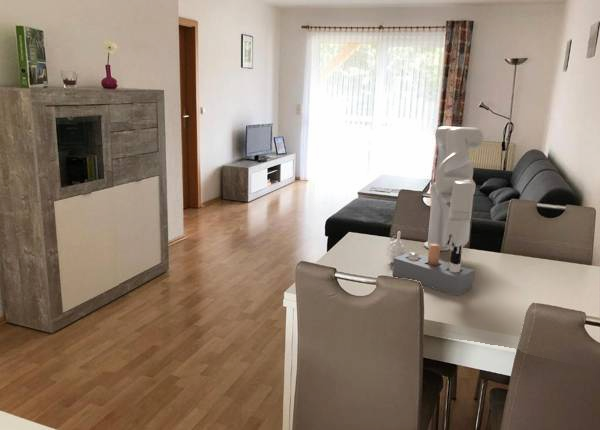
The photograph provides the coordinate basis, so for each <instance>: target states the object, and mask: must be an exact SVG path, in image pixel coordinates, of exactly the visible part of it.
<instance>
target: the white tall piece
mask: <svg viewBox="0 0 600 430" xmlns="http://www.w3.org/2000/svg"><path fill="white" fill-rule="evenodd" d="M401 234H402V233H401V231H400V230H398V232H397V234H396V235H397V236H396V235H394V236H392V238H391V239H393V238H395V237H396V239H395V240H391V242H389V243H388V247H387V254H386V256H387V257H388V255H389V256H390V257H389V258H390V261H392V263H393V264H394V258H395V257H398V256H401V255H404V254H406V250H405V245H403V242H402V241H401ZM393 243H394V244H393ZM390 244H391V247H390ZM389 248H390V249H389ZM389 251H390V252H389Z"/></svg>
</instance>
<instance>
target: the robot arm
mask: <svg viewBox="0 0 600 430" xmlns="http://www.w3.org/2000/svg"><path fill="white" fill-rule="evenodd" d="M434 135H435V141H436V142H435V143H436V145H437V149H438V152H437V153H438V154H437V161H436V168H435V169H436V170H435V178H434V179H435V180H434V181H435V182H433V183H431V186H430V190H429V191H430V192H429V193H430V215H429V223H428V224H429V225H428V236H427V241H426V242H424V243H423V246H424V247H425V248H427V249H428V250H429V245H430V244H438V245H440V252H441V251H442V252H444V251H445V252H446V251H450V261H449V262H451V263H454V264H460V263H461V260H462V253H463V249H464V247H465V246H466V245H467V243H469V241H470V231H471V230H470V229H471V221H472V210H473V204H474V203H473V202H474V194H475V193H476V189H477V188H476V182H475V181H474V179H473V176H474V166H473V165H474V164H473V163H472V162H471V161H470V154H469V153H470V152H469V149H470V150H479V149H482V147H483V144H484V132H483V131H482V130H481V128H480V127H479V128H478V127H471V126H470V127H468V126H446V125H445V126H439V127H437V129H436V130H435V134H434ZM448 203H450V205H449V204H448Z"/></svg>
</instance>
